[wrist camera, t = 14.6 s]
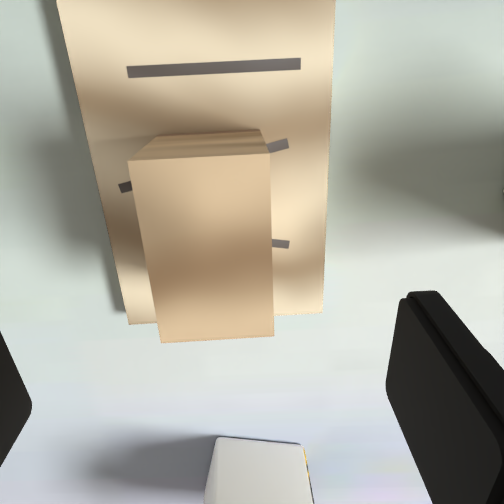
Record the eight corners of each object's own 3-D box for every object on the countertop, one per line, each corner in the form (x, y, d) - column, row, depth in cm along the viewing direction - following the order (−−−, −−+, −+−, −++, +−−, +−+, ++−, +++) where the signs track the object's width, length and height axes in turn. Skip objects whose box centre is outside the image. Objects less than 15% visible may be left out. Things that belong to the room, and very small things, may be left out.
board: (18, -221, 14) (0, -245, 13) (337, -232, 14) (346, -257, 13) (133, 313, 25) (128, 324, 24) (318, 302, 25) (322, 313, 24)
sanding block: (158, 134, 19) (127, 161, 13) (259, 129, 19) (269, 153, 13) (179, 276, 22) (161, 343, 17) (264, 271, 22) (274, 336, 17)
